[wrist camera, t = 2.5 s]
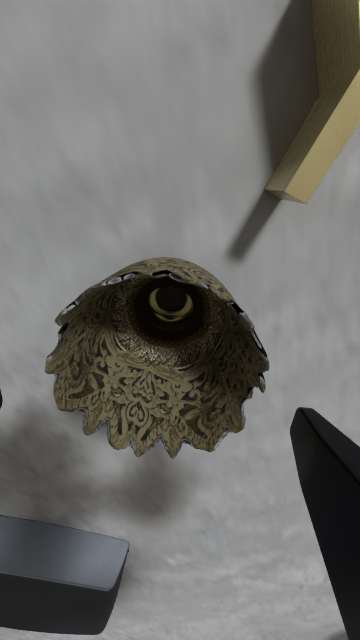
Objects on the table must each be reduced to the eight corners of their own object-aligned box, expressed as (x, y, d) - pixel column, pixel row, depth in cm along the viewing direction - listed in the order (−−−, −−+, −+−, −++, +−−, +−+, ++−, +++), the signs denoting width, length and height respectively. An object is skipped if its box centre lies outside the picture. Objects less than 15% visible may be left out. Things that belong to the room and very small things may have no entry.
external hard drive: (-75, 495, 27) (-118, 545, 23) (132, 531, 28) (123, 585, 24) (-56, 568, 32) (-88, 618, 29) (116, 596, 33) (106, 648, 30)
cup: (201, 368, 19) (206, 484, 12) (92, 326, 18) (25, 423, 11) (260, 265, 16) (315, 335, 9) (133, 207, 15) (76, 232, 8)
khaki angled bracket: (314, 202, 14) (348, 208, 11) (262, 197, 14) (282, 201, 11) (380, -43, 11) (457, -135, 8) (310, -49, 11) (359, -145, 8)
